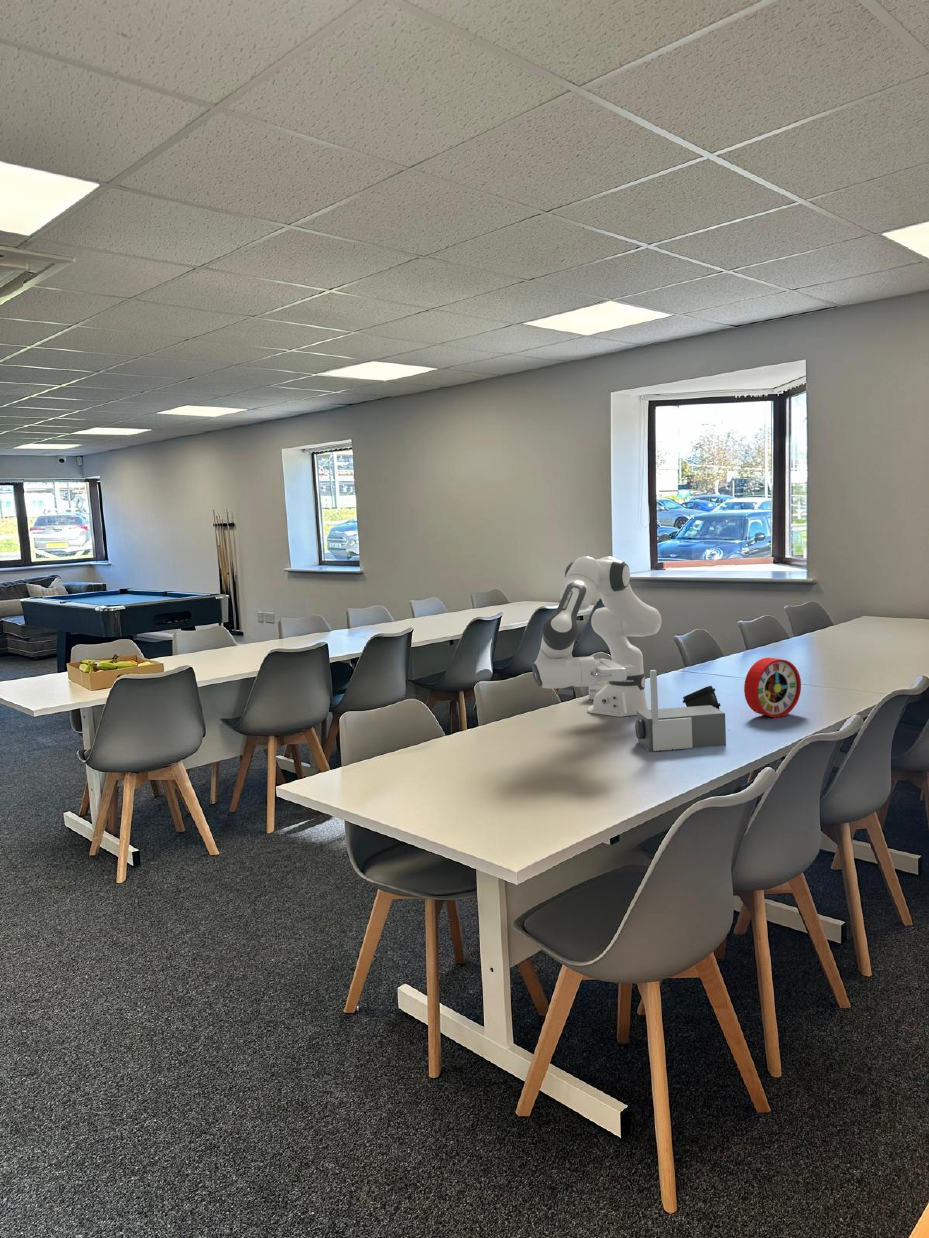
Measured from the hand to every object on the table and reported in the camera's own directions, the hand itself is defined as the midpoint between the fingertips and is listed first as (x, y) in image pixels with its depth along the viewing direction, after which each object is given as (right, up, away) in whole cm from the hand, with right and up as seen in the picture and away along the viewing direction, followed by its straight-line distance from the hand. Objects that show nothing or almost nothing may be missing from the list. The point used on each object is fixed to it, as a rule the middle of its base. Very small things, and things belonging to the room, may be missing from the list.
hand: (633, 668), depth 253 cm
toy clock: (+56, -19, +40) cm, 71 cm away
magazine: (+28, -22, +26) cm, 44 cm away
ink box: (+5, -17, +87) cm, 88 cm away
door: (+13, -25, +4) cm, 28 cm away
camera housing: (+17, -24, +11) cm, 32 cm away
